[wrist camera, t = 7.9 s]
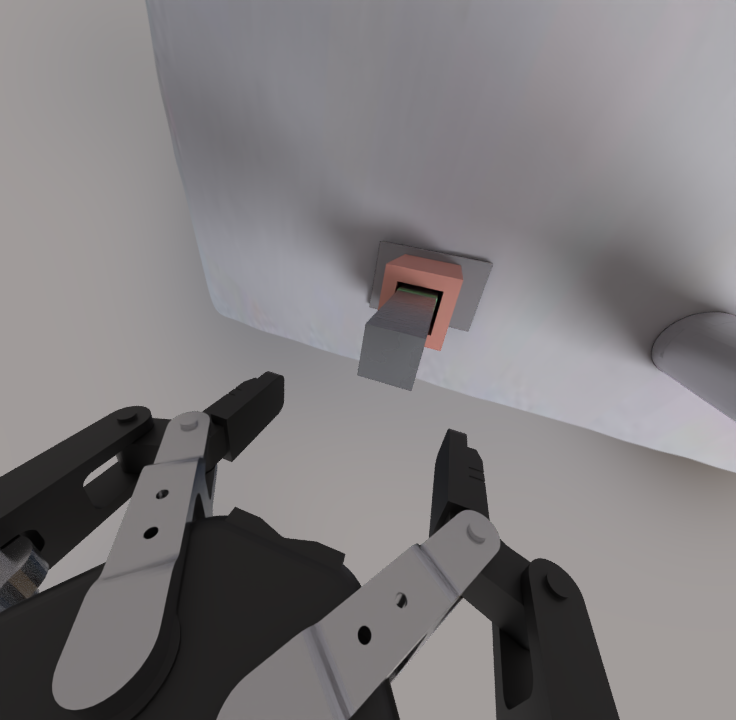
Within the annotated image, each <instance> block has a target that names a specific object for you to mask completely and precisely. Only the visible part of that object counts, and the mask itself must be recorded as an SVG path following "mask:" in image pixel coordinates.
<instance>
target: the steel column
mask: <svg viewBox="0 0 736 720" xmlns="http://www.w3.org/2000/svg"><path fill="white" fill-rule="evenodd" d="M438 292H439V290H434V289H430V288H426V287H421V286H417V285H412V284H408V283H404V284H403V285H402V286H401V287H399V288H398V290H397V291H396V292H395V293H394V294H393V295H392V296H391V297H390V299H389V300H388V301H387V302H386V303H385V304H384V305H383V306H382V307H381V308H380V309H379V310H378V311H377V312H376V313H375V314H374V315H373V316H372V318H371V319H370V320H369V321H368V322H367V323H366V325H365V331H364V337H363V343H362V349H361V355H360V361H359V368H358V374H357V375H359V376H362V377H365V378H369V379H372V380H376V381H379V382H382V383H385V384H389V385H392V386H396V387H399V388H402V389H406V390H409V391H411V390H412V387H413V383H414V380H415V377H416V373H417V370H418V366H419V363H420V359H421V356H422V352H423V349H424V346H425V342H426V339H427V335H428V331H429V327H430V323H431V319H432V316H433V312H434V309H435V305H436V302H437V298H438Z"/></svg>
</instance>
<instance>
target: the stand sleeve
mask: <svg viewBox="0 0 736 720" xmlns="http://www.w3.org/2000/svg"><path fill="white" fill-rule="evenodd" d="M492 266H493V263H490V262H485V261H480V260H475V259H470V258H465V257H460V256H455V255H450V254H445V253H440V252H435V251H430V250H425V249H420V248H415V247H410V246H405V245H400V244H395V243H390V242H385V241H380V246H379V252H378V258H377V264H376V270H375V276H374V282H373V288H372V294H371V300H370V306H369V307H370V308H375V309H378V310H379V309H380V308H381V307H382V306H383V305H384V304H385V303H386V302H387V301H388V300H389V299H390V297H391V296H392V295H393V294H394V293H395V292H396V291H397V290H398V288H399V287H401V286H402V285H403V284H404V283H408V284H412V285H417V286H421V287H426V288H430V289H434V290H439V292H438V298H437V302H436V305H435V309H434V312H433V316H432V319H431V323H430V327H429V331H428V335H427V339H426V342H425V346H424V347H427V348H431V349H434V350H438V351H441V348H442V344H443V341H444V338H445V335H446V332H447V329H448V327H451V328H455V329H460V330H464V331H469V328H470V326H471V323H472V320H473V317H474V315H475V312H476V309H477V307H478V304H479V301H480V298H481V296H482V293H483V290H484V287H485V285H486V282H487V279H488V277H489V274H490V271H491V268H492Z"/></svg>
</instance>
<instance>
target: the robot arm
mask: <svg viewBox="0 0 736 720" xmlns="http://www.w3.org/2000/svg"><path fill="white" fill-rule="evenodd" d="M652 359H653V362H654V364H655V365H656V366H657V368H658V369H660V370H661V371H662V372H664V373H665V374H667V375H668V376H670V377H671V378H672V379H674V380H675V381H677V382H678V383H680V384H681V385H682V386H684V387H685V388H687V389H688V390H690V391H691V392H693V393H694V394H696V395H697V396H699V397H700V398H701V399H703V400H704V401H706V402H707V403H709V404H710V405H712V406H713V407H715V408H716V409H718V410H719V411H720V412H722V413H723V414H725V415H726V416H728V417H729V418H731V419H732V420H734V421H735V422H736V316H735V315H732V314H727V313H722V312H707V313H700V314H696V315H692V316H689V317H686V318H684V319H681V320H679V321H677V322H676V323H674V324H672V325H671V326H669V327H668V328H667V329H666V330H664V331H663V332H662V333H661V335H660V336H659V337H658V338H657V340H656V341H655V343H654V345H653V349H652ZM283 404H284V377H283V376H282V375H278V374H276V373H272V372H269V371H268V372H265V373H264V374H263V375H261V376H260V377H259V378H258V379H257V378H253V379H250V380H248V381H245V382H243V383H242V384H240V385H239V386H238V387H236V389H233V390H232V391H231V392H229V394H226V395H225V396H223V397H222V398H221V399H219V400H218V401H217V402H215V403H214V404H212V405H211V406H210V407H208V408H207V409H205V410H204V411H203V412H198V411H192V412H187V413H183V414H180V415H178V416H176V417H175V418H173V419H172V420H171V419H170V420H169V419H157V418H152V415H151V412H150V410H149V409H148V408H146V407H143V406H132V407H126V408H123V409H120V410H117V411H115V412H113V413H111V414H109V415H108V416H106V417H104V418H102V419H101V420H99V421H97V422H95V423H94V424H92V425H90V426H88V427H87V428H85V429H83V430H81V431H80V432H78V433H76V434H75V435H73V436H71V437H69V438H68V439H66V440H64V441H62V442H60V443H59V444H57V445H55V446H54V447H52V448H50V449H48V450H47V451H45V452H43V453H41V454H40V455H38V456H36V457H34V458H33V459H31V460H29V461H27V462H26V463H24V464H22V465H21V466H19V467H17V468H15V469H14V470H12V471H10V472H8V473H7V474H5V475H3V476H1V477H0V720H400V718H399V714H398V711H397V707H396V703H395V700H394V696H393V692H392V688H391V683H392V682H393V680H394V679H395V678H396V677H397V676H398V675H399V673H400V672H401V671H402V670H403V669H404V668H405V667H406V665H407V664H408V663H409V662H410V660H412V658H413V657H414V656H415V655H416V654H417V652H418V651H419V650H420V648H421V647H422V646H423V645H424V644H425V642H426V641H427V640H428V639H429V637H430V636H431V635H432V634H433V633H434V631H435V630H436V629H437V628H438V627H439V626H440V624H441V623H442V622H443V621H444V620H445V618H446V617H447V616H448V615H449V614H450V613H451V612H452V610H453V609H454V608H455V607H456V606H457V605H458V603H459V602H460V601H461V600H462V599H463V598H465V599H466V600H467V601H468V602H469V603H471V604H472V605H473V606H474V607H475V608H476V609H478V610H479V611H480V612H481V613H482V614H484V615H485V616H486V617H487V618H488V619H489V620H491V621H492V630H493V654H494V676H495V697H496V718H497V720H620V719H619V716H618V712H617V709H616V706H615V702H614V699H613V696H612V692H611V689H610V686H609V682H608V679H607V676H606V672H605V669H604V666H603V663H602V659H601V656H600V652H599V649H598V646H597V642H596V639H595V636H594V633H593V629H592V626H591V622H590V619H589V615H588V612H587V609H586V605H585V602H584V599H583V596H582V594H581V592H580V590H579V588H578V586H577V585H576V583H575V582H574V581H573V579H572V578H571V577H570V576H569V575H568V574H567V573H566V572H565V571H564V570H563V569H562V568H561V567H559V566H558V565H557V564H555V563H553V562H551V561H549V560H546V559H541V558H538V559H535V560H533V561H532V562H529V561H528V560H526V559H525V558H523V557H522V556H521V555H519V554H518V553H516V552H515V551H514V550H512V549H511V548H509V547H508V546H507V545H505V543H504V542H503V541H501V539H500V537H499V534H498V532H497V530H496V528H495V527H494V525H493V524H492V523H491V522H490V520H489V512H488V504H487V495H486V487H485V483H484V482H485V478H484V474H483V472H484V471H483V462H482V459H481V457H480V456H479V454H478V452H477V450H475V449H472V448H469V447H467V435H466V434H465V433H462V432H458V431H455V430H452V429H448V430H447V433H446V435H445V437H444V440H443V442H442V445H441V448H440V450H439V452H438V455H437V459H436V463H435V472H434V483H433V496H432V508H431V519H430V531H429V539H428V540H426V541H425V542H424V543H423V544H421V545H419V544H415V545H413V546H411V547H410V548H409V549H407V550H406V551H405V552H404V553H402V554H401V555H400V556H399V557H398V558H396V559H395V560H394V561H393V562H391V563H390V564H389V565H388V566H387V567H385V568H384V569H383V570H382V571H380V572H379V573H378V574H377V575H376V576H374V577H373V578H372V579H371V580H370V581H368V582H367V583H366V584H365V585H363V586H362V587H361V585H360V583H359V582H358V580H357V579H356V577H355V576H354V575H353V574H352V572H351V571H350V570H349V569H348V568H347V567H345V565H343V562H344V557H345V554H344V553H341V552H339V551H337V550H335V549H332V548H330V547H328V546H325V545H323V544H321V543H318V542H314V541H306V540H297V539H289V538H284V537H282V536H280V534H278V533H277V532H276V531H275V530H274V529H273V528H271V527H270V526H269V525H268V524H267V523H266V522H265V521H264V520H263V519H261V518H260V517H257V516H255V515H253V514H250V513H248V512H246V511H244V510H241V509H239V508H237V507H235V508H234V509H233V510H232V512H231V513H230V514H229V515H228V516H213V500H214V492H215V484H216V475H217V463H218V462H219V461H220V460H221V459H222V458H223V459H226V460H228V461H231V462H232V461H233V460H234V459H235V458H236V457H237V456H238V455H239V454H240V453H241V452H242V451H243V450H244V449H245V448H246V447H247V446H248V445H249V444H250V443H251V442H252V441H253V440H254V439H255V437H257V435H258V434H259V433H260V432H261V431H262V430H263V429H264V428H265V427H266V426H267V425H268V424H269V423H270V422H271V421H272V420H273V419H274V418H275V417H276V416H277V415H278V414H279V412H280V410H281V409H282V407H283ZM115 455H116V457H117V459H118V462H117V463H115V464H114V465H113V466H111V467H110V468H109V469H107V470H106V471H105V472H103V473H102V474H101V475H99V476H98V477H97V478H95V479H94V480H92V481H91V482H90V483H88V484H87V485H86V486H84V487H83V483H84V481H85V479H86V478H87V476H88V475H89V474H90V473H91V472H93V471H94V470H95V469H97V468H98V467H100V466H101V465H102V464H104V463H105V462H107V461H108V460H109V459H111V458H112V457H114V456H115ZM129 498H131V500H130V502H129V505H128V507H127V510H126V513H125V515H124V518H123V520H122V523H121V526H120V528H119V530H118V533H117V536H116V538H115V541H114V543H113V546H112V549H111V551H110V553H109V556H108V559H107V561H106V562H105V563H103V564H101V565H99V566H97V567H94V568H92V569H90V570H88V571H86V572H84V573H82V574H79V575H77V576H75V577H73V578H71V579H68V580H66V581H64V582H62V583H60V584H58V585H56V586H53V587H51V588H49V589H47V590H45V591H43V592H41V593H39V589H38V587H39V586H40V585H41V583H42V582H43V580H44V579H45V577H46V575H47V573H48V570H49V569H51V568H52V567H53V566H54V565H55V564H56V563H57V562H58V561H59V560H61V559H62V558H63V557H64V556H65V555H66V554H67V553H68V552H70V551H71V550H72V549H73V548H74V547H75V546H76V545H78V544H79V543H80V542H81V541H82V540H83V539H84V538H85V537H87V536H88V535H89V534H90V533H91V532H92V531H93V530H94V529H96V527H98V526H99V525H100V524H101V523H102V522H103V521H105V520H106V519H107V518H108V517H109V516H110V515H111V514H112V513H114V512H115V511H116V510H117V509H118V508H119V507H120V506H121V505H123V504H124V503H125V502H126V501H127V500H128V499H129Z"/></svg>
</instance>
